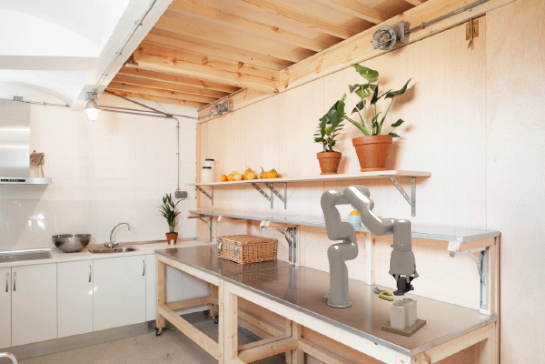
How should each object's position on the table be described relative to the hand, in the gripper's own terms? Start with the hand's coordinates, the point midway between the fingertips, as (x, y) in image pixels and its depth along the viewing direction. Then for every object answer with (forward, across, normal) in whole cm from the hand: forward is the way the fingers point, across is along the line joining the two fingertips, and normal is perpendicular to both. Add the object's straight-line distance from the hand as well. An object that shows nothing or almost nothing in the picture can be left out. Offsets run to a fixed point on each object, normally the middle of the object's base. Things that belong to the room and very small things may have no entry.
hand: (403, 290), depth 160 cm
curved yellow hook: (+16, -29, +40) cm, 52 cm away
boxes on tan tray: (+16, 0, 0) cm, 16 cm away
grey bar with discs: (+1, 0, 0) cm, 1 cm away
